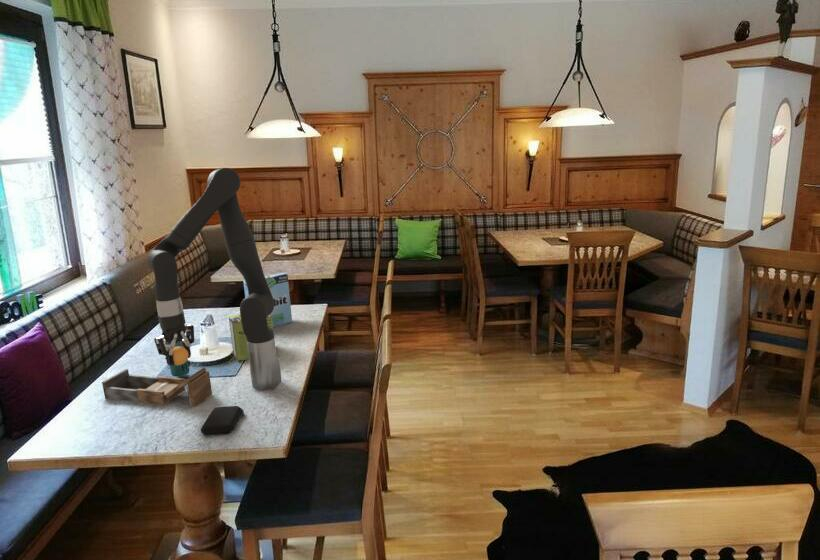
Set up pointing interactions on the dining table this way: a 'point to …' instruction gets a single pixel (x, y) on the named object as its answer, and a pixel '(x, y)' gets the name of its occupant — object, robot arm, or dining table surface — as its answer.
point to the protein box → (241, 336)
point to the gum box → (278, 298)
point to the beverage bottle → (179, 366)
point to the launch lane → (157, 388)
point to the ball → (180, 355)
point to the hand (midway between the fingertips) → (179, 361)
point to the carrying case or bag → (222, 420)
